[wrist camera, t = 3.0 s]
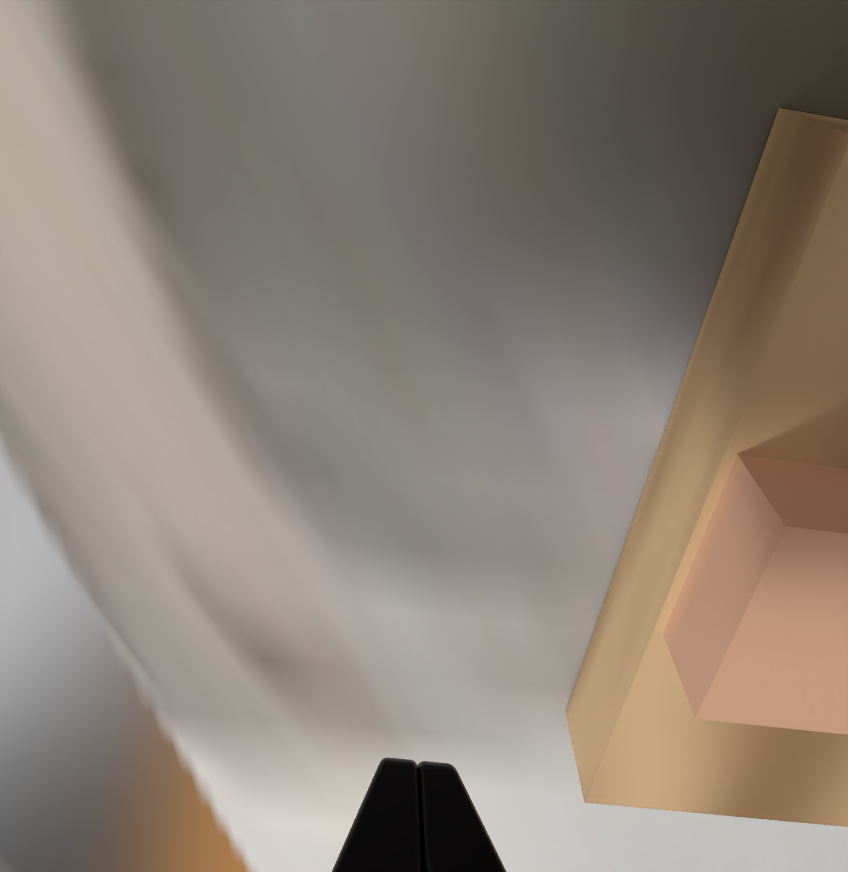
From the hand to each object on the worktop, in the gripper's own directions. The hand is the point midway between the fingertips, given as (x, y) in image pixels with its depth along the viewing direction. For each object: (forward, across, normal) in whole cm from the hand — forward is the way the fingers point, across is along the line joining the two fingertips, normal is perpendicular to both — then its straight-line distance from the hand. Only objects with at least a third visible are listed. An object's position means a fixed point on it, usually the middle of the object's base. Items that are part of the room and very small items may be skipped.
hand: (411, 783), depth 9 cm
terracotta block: (+5, -7, 0) cm, 9 cm away
